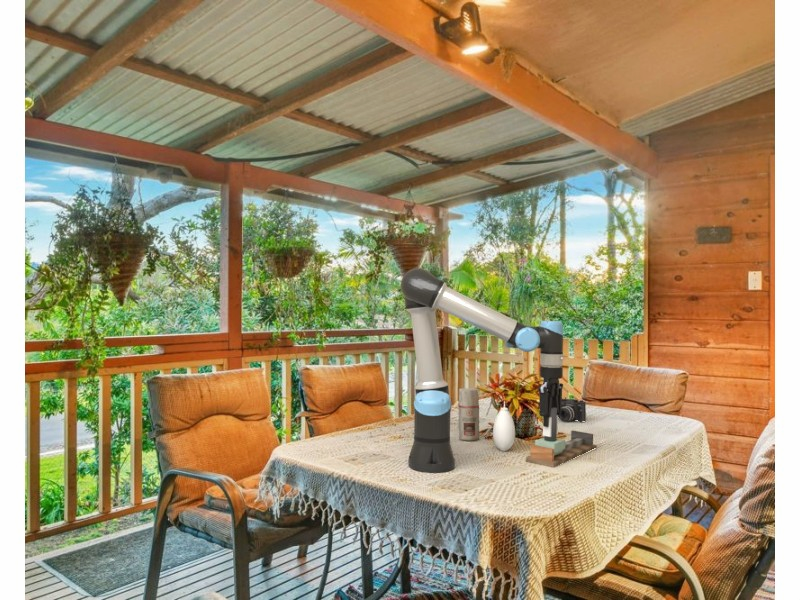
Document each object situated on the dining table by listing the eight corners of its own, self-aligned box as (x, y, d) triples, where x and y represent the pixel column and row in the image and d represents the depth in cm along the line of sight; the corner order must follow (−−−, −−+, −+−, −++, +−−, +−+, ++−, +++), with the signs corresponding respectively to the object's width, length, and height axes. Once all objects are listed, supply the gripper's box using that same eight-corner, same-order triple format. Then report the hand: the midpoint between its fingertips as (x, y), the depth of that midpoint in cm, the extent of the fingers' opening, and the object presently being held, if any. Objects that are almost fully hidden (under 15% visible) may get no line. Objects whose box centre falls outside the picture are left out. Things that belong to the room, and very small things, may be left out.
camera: (547, 419, 259) (547, 398, 259) (560, 416, 266) (560, 396, 266) (575, 424, 248) (575, 402, 249) (587, 421, 256) (588, 400, 256)
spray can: (454, 439, 216) (455, 388, 216) (462, 435, 224) (463, 385, 224) (475, 442, 212) (475, 390, 212) (482, 438, 220) (483, 387, 220)
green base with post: (554, 457, 184) (554, 410, 184) (535, 453, 189) (535, 407, 189) (565, 452, 190) (565, 407, 190) (546, 448, 195) (546, 405, 195)
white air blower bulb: (498, 453, 197) (499, 402, 197) (489, 448, 204) (489, 399, 204) (518, 452, 199) (519, 402, 199) (508, 447, 206) (509, 398, 206)
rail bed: (553, 467, 181) (553, 450, 181) (526, 461, 188) (526, 445, 188) (596, 448, 206) (596, 434, 206) (571, 444, 213) (571, 429, 213)
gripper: (549, 368, 181) (548, 441, 181) (572, 365, 194) (571, 432, 193) (528, 366, 186) (527, 437, 186) (552, 363, 199) (551, 429, 199)
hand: (550, 434), depth 190 cm, fingers closed on green base with post, 4 cm apart
